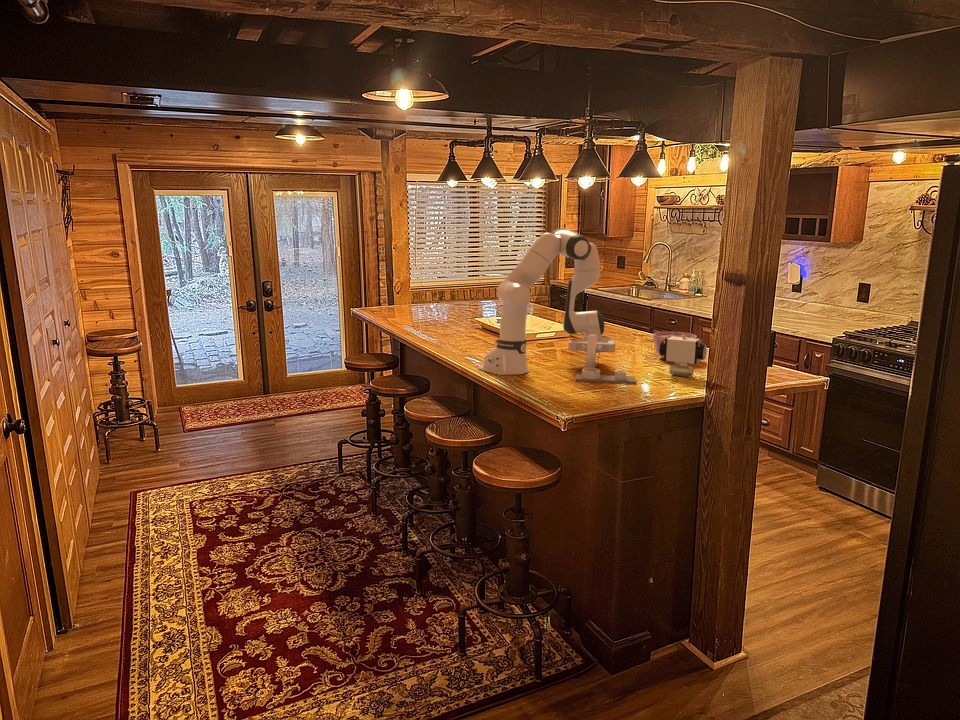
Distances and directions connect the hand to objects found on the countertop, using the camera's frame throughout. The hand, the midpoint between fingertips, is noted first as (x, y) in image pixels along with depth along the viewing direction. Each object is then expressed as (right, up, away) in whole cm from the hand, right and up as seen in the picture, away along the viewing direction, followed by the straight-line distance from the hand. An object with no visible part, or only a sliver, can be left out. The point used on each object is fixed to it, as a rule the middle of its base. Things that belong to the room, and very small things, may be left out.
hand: (591, 349), depth 283 cm
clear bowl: (+44, -4, +33) cm, 55 cm away
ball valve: (+38, -12, -1) cm, 40 cm away
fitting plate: (+4, -13, -10) cm, 17 cm away
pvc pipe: (0, -8, +3) cm, 8 cm away
